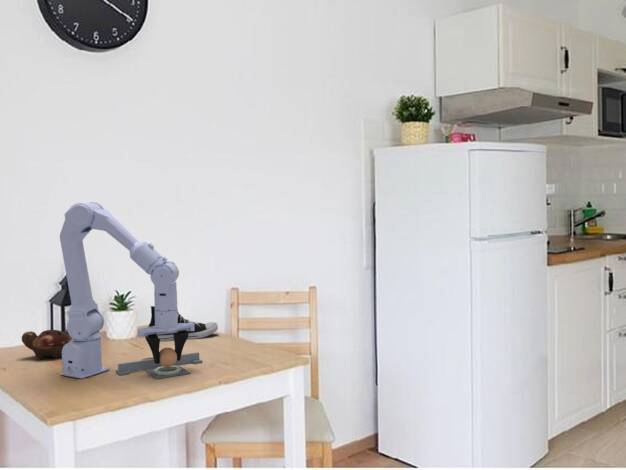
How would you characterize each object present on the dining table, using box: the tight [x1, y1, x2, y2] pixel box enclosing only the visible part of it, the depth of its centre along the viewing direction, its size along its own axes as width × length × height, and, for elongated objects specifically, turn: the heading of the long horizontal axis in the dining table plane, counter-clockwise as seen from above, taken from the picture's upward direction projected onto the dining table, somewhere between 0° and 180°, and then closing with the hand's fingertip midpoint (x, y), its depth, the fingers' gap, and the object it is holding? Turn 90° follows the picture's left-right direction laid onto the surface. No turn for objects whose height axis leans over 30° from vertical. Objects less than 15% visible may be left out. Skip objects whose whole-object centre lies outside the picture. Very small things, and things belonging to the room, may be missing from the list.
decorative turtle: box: [21, 329, 72, 361], centre depth 188 cm, size 10×15×8 cm, turn 115°
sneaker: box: [148, 305, 219, 342], centre depth 211 cm, size 8×22×12 cm, turn 103°
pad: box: [144, 365, 191, 380], centre depth 171 cm, size 9×9×1 cm
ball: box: [159, 347, 177, 367], centre depth 171 cm, size 5×5×5 cm
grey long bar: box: [115, 351, 203, 376], centre depth 176 cm, size 22×4×2 cm, turn 122°
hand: (167, 361), depth 171 cm, fingers closed on ball, 5 cm apart
